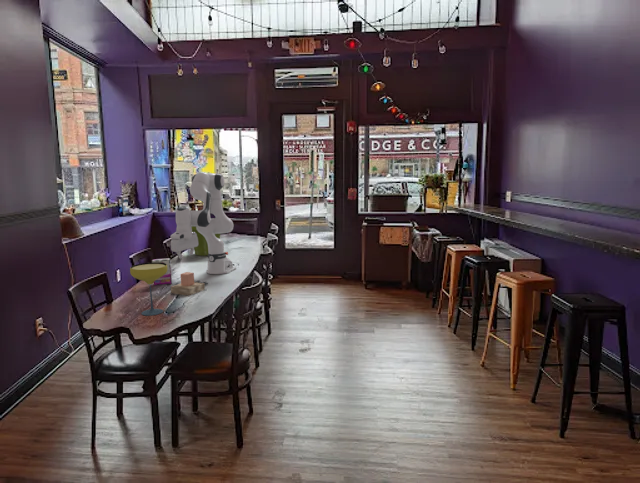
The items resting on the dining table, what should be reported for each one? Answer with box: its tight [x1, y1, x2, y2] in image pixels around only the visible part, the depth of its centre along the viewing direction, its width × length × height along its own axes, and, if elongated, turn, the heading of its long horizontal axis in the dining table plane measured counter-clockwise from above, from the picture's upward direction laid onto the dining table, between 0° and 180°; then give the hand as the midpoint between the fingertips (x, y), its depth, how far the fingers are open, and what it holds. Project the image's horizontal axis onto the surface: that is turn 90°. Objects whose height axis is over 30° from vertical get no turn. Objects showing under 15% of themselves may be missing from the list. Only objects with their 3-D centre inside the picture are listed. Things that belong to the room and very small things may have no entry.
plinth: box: [170, 281, 206, 297], centre depth 275 cm, size 14×14×4 cm
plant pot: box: [191, 226, 221, 257], centre depth 390 cm, size 30×30×29 cm
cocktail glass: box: [129, 261, 167, 317], centre depth 234 cm, size 18×18×25 cm
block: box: [179, 271, 195, 286], centre depth 274 cm, size 6×6×7 cm
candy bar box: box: [151, 257, 173, 286], centre depth 293 cm, size 11×5×16 cm, turn 105°
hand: (186, 256), depth 272 cm, fingers open, 8 cm apart
